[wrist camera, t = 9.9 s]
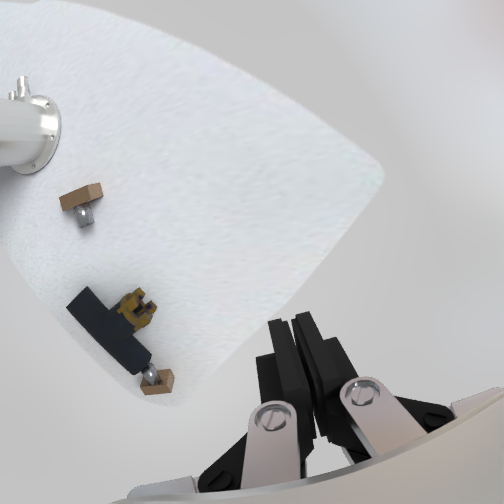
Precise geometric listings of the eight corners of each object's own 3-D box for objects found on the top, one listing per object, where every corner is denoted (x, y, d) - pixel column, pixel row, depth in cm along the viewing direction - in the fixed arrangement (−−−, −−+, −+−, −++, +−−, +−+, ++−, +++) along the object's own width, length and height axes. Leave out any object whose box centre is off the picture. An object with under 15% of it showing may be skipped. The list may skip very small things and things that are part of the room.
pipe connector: (102, 270, 35) (176, 349, 39) (116, 257, 40) (182, 329, 44) (61, 312, 36) (127, 379, 40) (76, 297, 41) (136, 360, 45)
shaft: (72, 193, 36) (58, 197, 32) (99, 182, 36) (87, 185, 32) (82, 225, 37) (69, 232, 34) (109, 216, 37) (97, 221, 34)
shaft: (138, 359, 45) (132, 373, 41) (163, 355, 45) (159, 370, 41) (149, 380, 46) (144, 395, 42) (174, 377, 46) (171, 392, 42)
